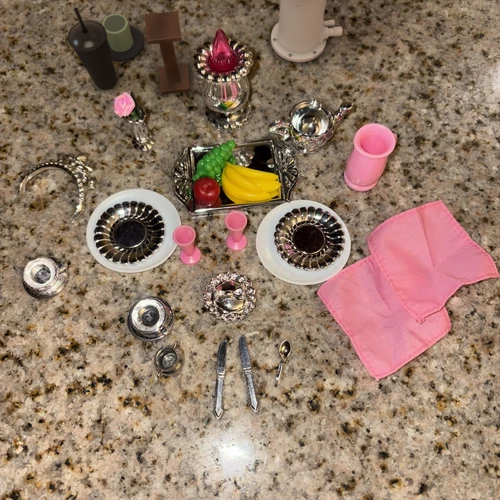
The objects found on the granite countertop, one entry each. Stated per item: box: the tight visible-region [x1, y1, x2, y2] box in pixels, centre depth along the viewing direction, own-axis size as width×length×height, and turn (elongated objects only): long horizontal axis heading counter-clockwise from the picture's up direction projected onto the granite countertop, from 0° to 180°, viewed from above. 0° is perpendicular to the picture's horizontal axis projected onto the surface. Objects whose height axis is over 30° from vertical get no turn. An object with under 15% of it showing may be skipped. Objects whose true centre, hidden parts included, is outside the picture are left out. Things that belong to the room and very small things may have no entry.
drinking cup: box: [67, 7, 118, 91], centre depth 99 cm, size 8×8×20 cm
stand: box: [143, 10, 192, 95], centre depth 101 cm, size 6×6×16 cm
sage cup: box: [101, 13, 133, 52], centre depth 109 cm, size 6×6×6 cm
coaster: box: [108, 25, 145, 62], centre depth 112 cm, size 10×10×1 cm
